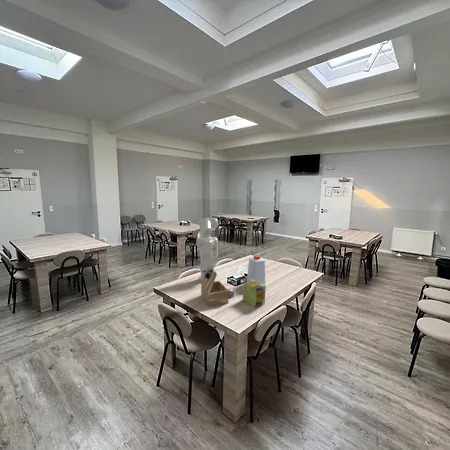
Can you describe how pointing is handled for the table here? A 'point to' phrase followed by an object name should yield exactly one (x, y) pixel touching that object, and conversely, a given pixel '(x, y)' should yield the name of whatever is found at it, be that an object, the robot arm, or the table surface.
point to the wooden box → (215, 294)
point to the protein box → (254, 292)
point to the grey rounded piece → (231, 293)
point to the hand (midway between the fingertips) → (207, 278)
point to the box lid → (209, 281)
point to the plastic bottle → (256, 269)
